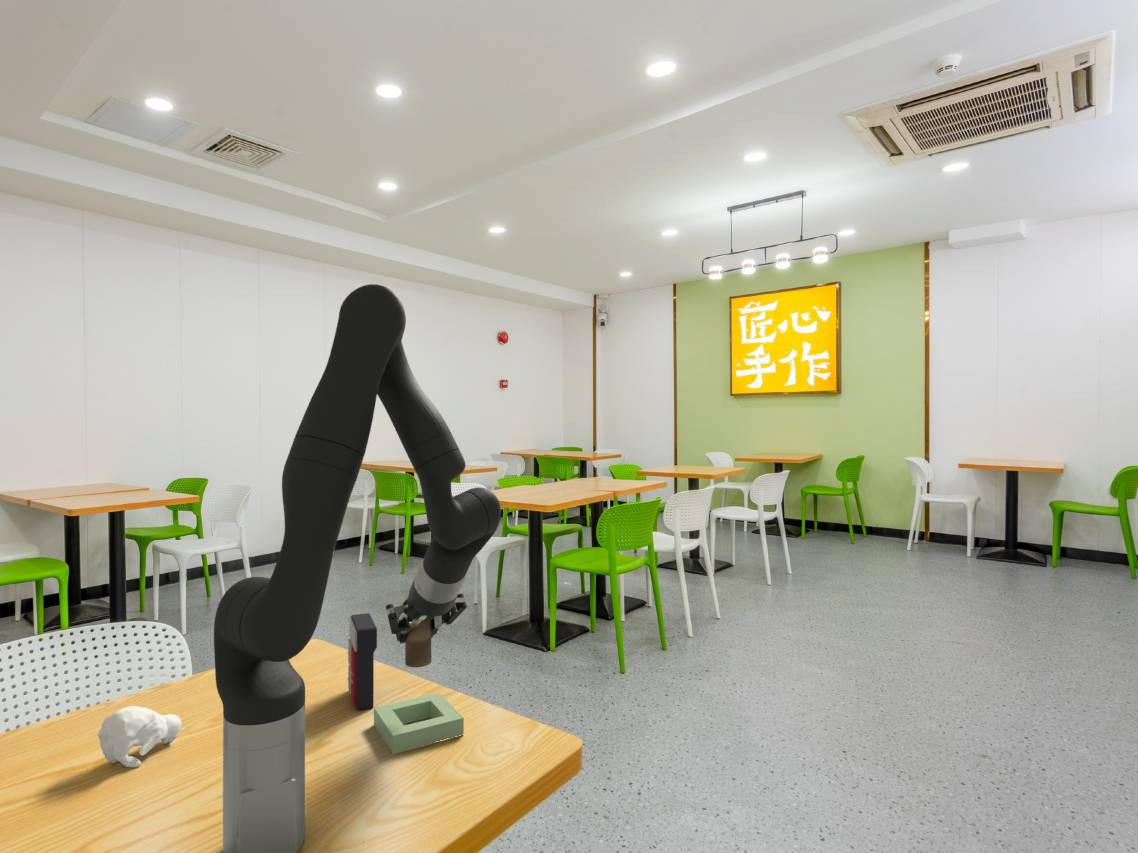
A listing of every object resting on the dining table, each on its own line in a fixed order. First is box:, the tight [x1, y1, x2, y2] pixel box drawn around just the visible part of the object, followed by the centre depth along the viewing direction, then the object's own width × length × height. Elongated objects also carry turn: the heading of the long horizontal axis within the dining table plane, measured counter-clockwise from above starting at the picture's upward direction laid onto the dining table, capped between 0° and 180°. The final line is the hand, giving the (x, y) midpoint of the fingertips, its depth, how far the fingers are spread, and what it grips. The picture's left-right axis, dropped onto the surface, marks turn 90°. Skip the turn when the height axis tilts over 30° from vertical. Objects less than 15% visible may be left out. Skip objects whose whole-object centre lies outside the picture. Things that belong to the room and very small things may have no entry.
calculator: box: [347, 612, 378, 711], centre depth 122 cm, size 11×4×15 cm, turn 25°
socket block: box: [373, 692, 465, 755], centre depth 109 cm, size 12×12×3 cm
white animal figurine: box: [97, 705, 182, 768], centre depth 101 cm, size 6×8×12 cm
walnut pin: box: [404, 619, 432, 668], centre depth 109 cm, size 4×4×9 cm
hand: (414, 635), depth 111 cm, fingers closed on walnut pin, 4 cm apart
